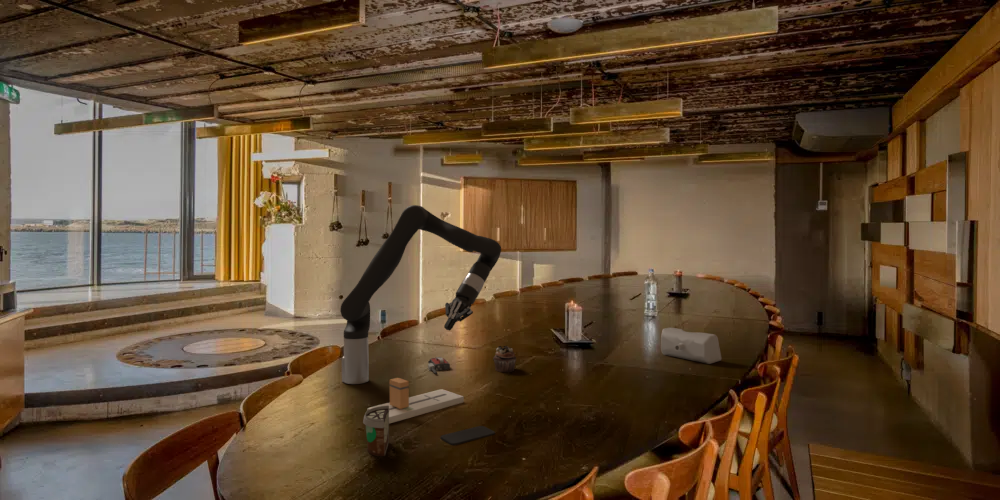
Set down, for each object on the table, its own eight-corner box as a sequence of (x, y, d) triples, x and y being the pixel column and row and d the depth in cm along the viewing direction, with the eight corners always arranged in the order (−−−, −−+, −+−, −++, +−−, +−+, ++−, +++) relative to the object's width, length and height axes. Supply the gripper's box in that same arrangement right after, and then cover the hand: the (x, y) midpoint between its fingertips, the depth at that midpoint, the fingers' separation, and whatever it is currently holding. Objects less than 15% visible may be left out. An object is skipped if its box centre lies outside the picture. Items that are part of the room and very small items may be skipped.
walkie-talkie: (423, 364, 241) (433, 376, 222) (423, 354, 241) (433, 366, 222) (443, 363, 244) (454, 375, 225) (443, 353, 244) (454, 364, 225)
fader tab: (398, 402, 180) (397, 377, 180) (408, 406, 176) (408, 381, 176) (389, 404, 178) (389, 379, 178) (400, 409, 174) (400, 383, 173)
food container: (367, 440, 154) (366, 405, 154) (389, 440, 155) (389, 404, 154) (359, 459, 142) (359, 420, 142) (383, 458, 142) (383, 420, 142)
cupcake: (520, 370, 230) (520, 346, 230) (501, 374, 225) (501, 349, 224) (507, 365, 238) (507, 342, 238) (488, 369, 232) (488, 345, 232)
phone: (496, 432, 160) (452, 444, 151) (496, 435, 160) (452, 447, 151) (482, 425, 165) (438, 435, 156) (482, 427, 165) (438, 438, 156)
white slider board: (441, 394, 197) (441, 388, 197) (463, 402, 188) (463, 396, 188) (367, 414, 176) (367, 407, 176) (388, 423, 167) (388, 417, 167)
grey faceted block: (653, 356, 255) (653, 329, 255) (672, 351, 265) (673, 325, 265) (702, 367, 236) (703, 338, 236) (722, 361, 246) (722, 333, 246)
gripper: (452, 280, 203) (428, 320, 196) (477, 285, 194) (453, 327, 188) (463, 291, 208) (440, 330, 201) (488, 296, 199) (465, 338, 192)
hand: (446, 329), depth 194 cm, fingers closed
